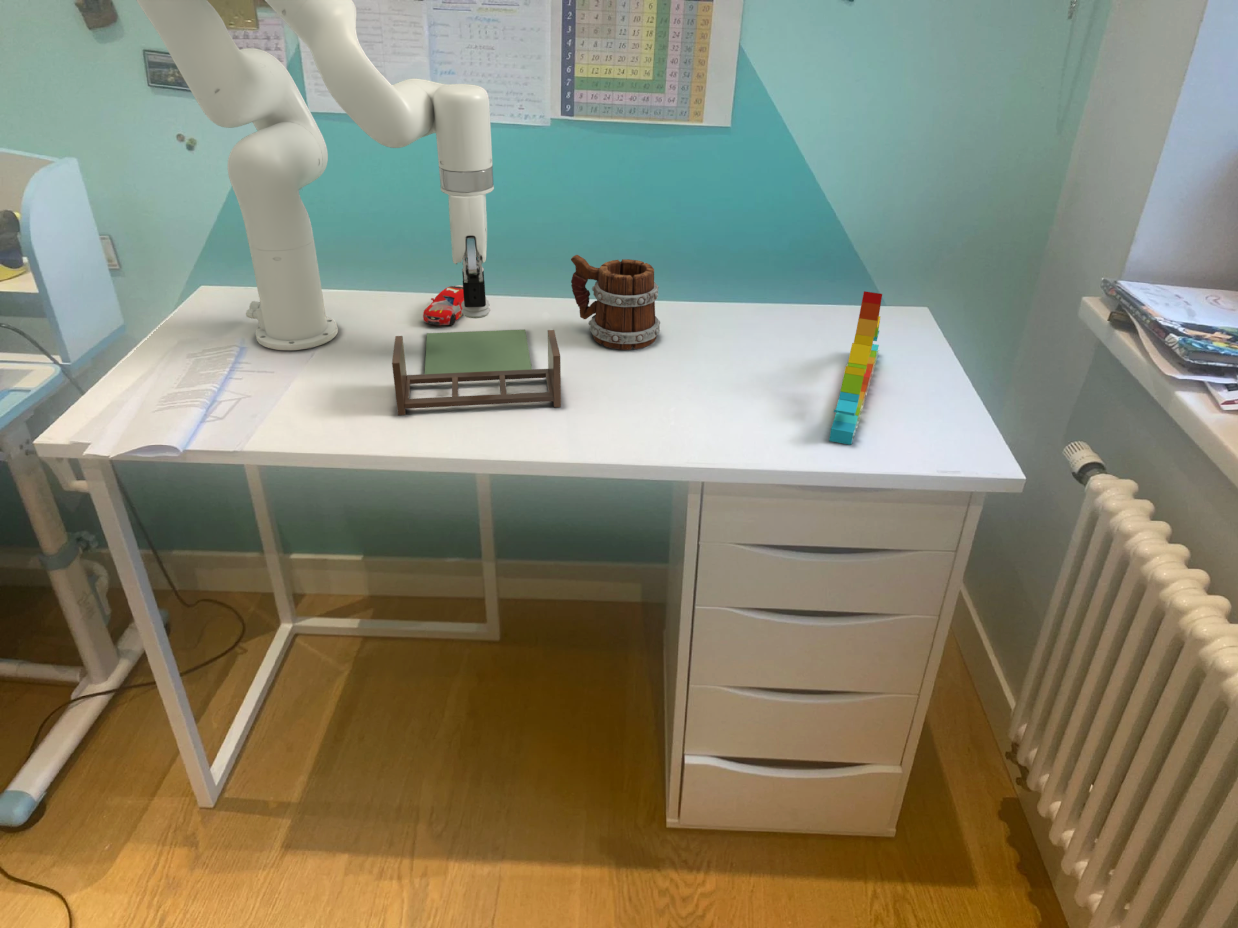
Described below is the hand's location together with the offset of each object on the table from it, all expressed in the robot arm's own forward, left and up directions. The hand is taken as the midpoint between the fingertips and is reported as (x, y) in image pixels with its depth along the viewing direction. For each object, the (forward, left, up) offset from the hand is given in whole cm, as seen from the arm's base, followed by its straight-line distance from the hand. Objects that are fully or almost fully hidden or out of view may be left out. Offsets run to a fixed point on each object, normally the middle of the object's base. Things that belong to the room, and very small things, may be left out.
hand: (474, 300), depth 140 cm
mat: (0, 0, -9) cm, 9 cm away
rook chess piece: (0, 0, -2) cm, 2 cm away
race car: (-12, +12, -9) cm, 19 cm away
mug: (+17, +15, -9) cm, 25 cm away
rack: (+7, -13, -9) cm, 17 cm away
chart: (+57, +10, -9) cm, 59 cm away
